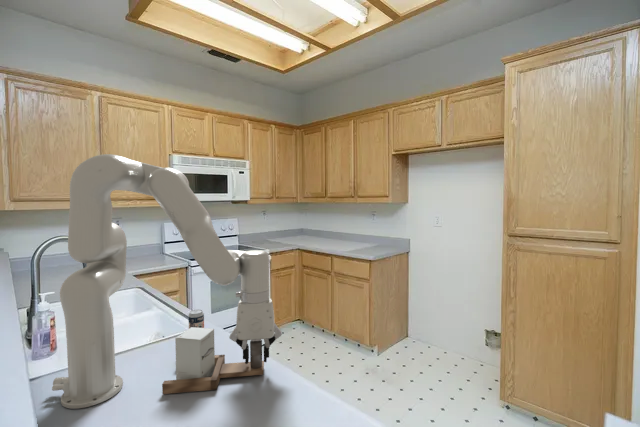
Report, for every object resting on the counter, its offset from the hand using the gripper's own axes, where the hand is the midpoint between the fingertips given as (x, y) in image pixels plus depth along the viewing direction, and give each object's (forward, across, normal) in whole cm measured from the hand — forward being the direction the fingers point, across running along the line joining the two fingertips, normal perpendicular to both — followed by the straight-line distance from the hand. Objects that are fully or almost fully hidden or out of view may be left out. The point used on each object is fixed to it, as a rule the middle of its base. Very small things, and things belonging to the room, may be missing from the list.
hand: (256, 359), depth 88 cm
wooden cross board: (+4, -10, 0) cm, 11 cm away
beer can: (+4, -20, +18) cm, 27 cm away
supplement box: (+4, -16, 0) cm, 17 cm away
